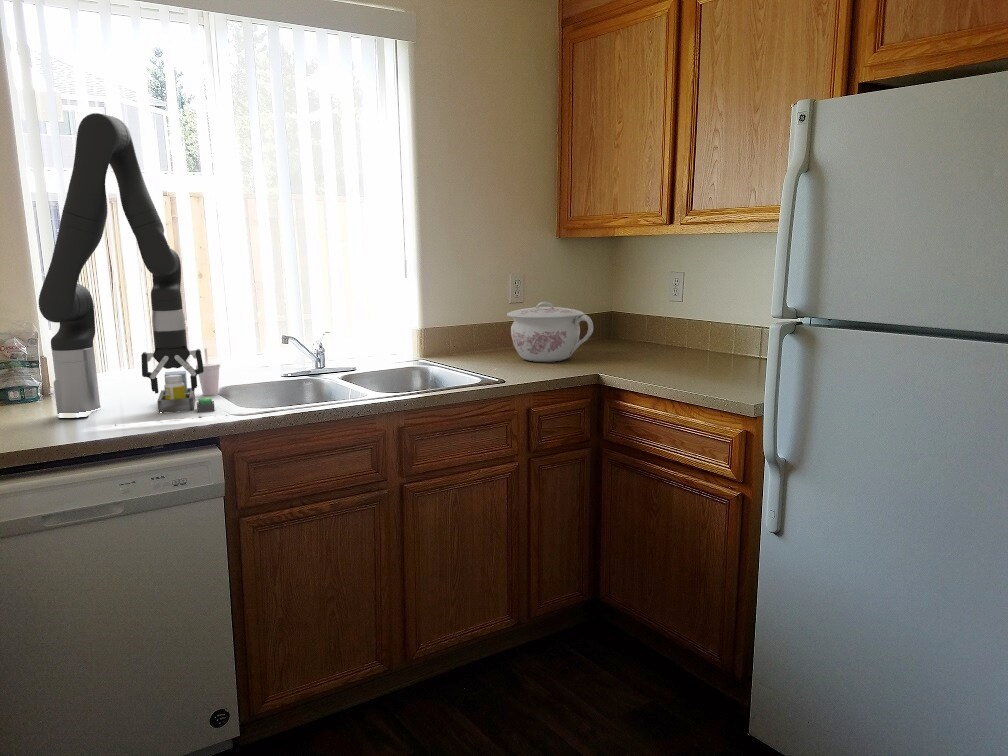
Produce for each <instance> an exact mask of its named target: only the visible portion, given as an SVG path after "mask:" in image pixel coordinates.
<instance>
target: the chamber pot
mask: <svg viewBox="0 0 1008 756" xmlns="http://www.w3.org/2000/svg"><path fill="white" fill-rule="evenodd" d="M506 316H507V317H509V318H510V317H511V318H512V319H513V322H512V324H511V326H510V335H511V339H512V345H513V347H514V348H515V350H516V351H517V354H518V355H519V356H520V357H521V359H524V360H526V361H528V362H532V361H533V363H557V362H556V361H558V362H561V361H564V360H567V359H569V358H570V357H571V356H572V355H573V354H574V353H575V351H576V350H577V349H578V348H579V347H580V346H581V345H582V344H583V343H584V342H586V341H588V340H589V339H590V337H591V336H592V334H593V332H594V323H593V320H592V319H591V317H590V316H589V315H587V314H585V313H584V312H583V311H581V310H578V309H573V308H568V307H567V308H566V307H559V306H554V304H553V303H551V302H548V301H541V302H539V303H538V304H536V305H535V307H526V308H521V309H520V308H519V309H516V310H512V311H508V312H507V313H506ZM580 322H586V323H587V328H588V329H587V332H586V334H585V336H583V338H582V339H580V336H581V335H580V334H581V326H580Z"/></svg>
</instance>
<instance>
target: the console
mask: <svg viewBox="0 0 1008 756" xmlns="http://www.w3.org/2000/svg"><path fill="white" fill-rule="evenodd" d="M210 402H211V404H201V405H200V402H198V401H197V402H196V411H197V413H206V412H215V410H216V409H215V400H212V401H210Z"/></svg>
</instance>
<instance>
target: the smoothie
mask: <svg viewBox="0 0 1008 756" xmlns="http://www.w3.org/2000/svg"><path fill="white" fill-rule="evenodd" d="M204 359H205V360H204V361H205V362H203V368H204V371H203V373H200V374H198V375H197V376H198V377H199V379H198V380H199V384H200V388H201V392H202V396H204V395H211V396H216V395H218V394H219V383H220V382H219V380H220V368H221V363H220V362H214V361H213V362H209V361H208V350H207V348H206V347H205V348H204ZM195 369H198V365H197V364H195Z"/></svg>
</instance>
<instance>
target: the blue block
mask: <svg viewBox="0 0 1008 756" xmlns="http://www.w3.org/2000/svg"><path fill="white" fill-rule="evenodd" d="M169 375H182V379H183V381H182V382H183V383H184V384H185V393H188V388H189V387H188V378H187V370H177V371H166V372H164V378H165V377H166V376H169ZM165 384H166V381H165V380H164V385H165Z"/></svg>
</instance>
